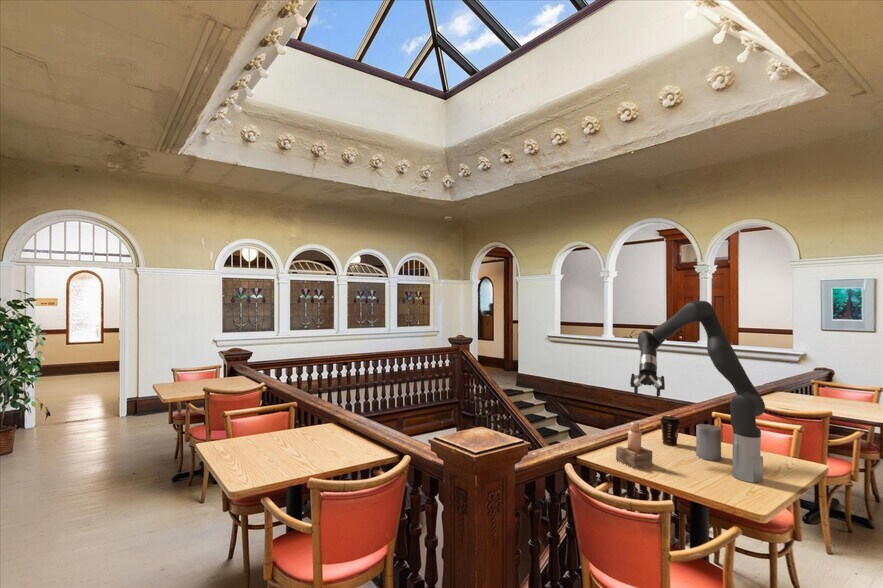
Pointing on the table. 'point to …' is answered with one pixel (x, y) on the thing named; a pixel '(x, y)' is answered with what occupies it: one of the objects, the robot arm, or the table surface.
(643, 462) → the pedestal
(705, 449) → the pillar candle
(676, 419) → the coffee cup
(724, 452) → the table surface
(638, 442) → the peg doll
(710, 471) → the table surface
